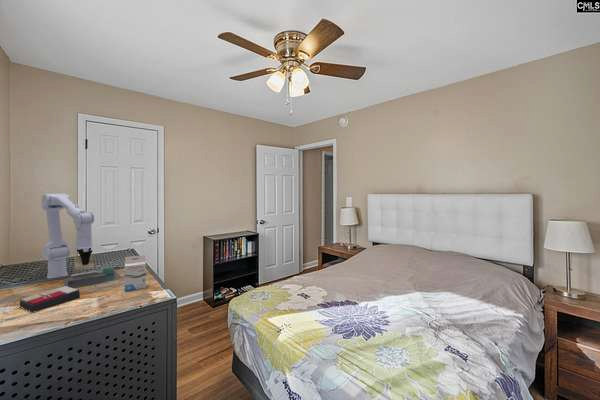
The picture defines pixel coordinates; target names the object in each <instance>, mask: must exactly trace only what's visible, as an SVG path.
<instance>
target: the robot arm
mask: <svg viewBox="0 0 600 400" xmlns="http://www.w3.org/2000/svg"><path fill="white" fill-rule="evenodd" d="M41 207H42V210H43V211H45V212H46V221H47V230H48V238H49V241H48V242H47V243H46V244H45V245H43V247H42V257H43V259H44V260H45V261H47V274H46V279H53V278H60V277H65V276H68V274H69V273H68V270H67V259H68V257H69V256H70V254H71V248H70V246H69V243H68V242H67V241H65V240H63V235H62V227H61V218H60V211H61V210H63V209H65V210H66V213H67V214H68V215H69V216H70V217H71V218H72V219H73V223H74V227H75V229H76V245H75V246H73V249H76V252H77V254H78V255H79V256H80V257H81V261H82V264H83V265H88V263H89V259H90V255H92V254H93V249H92V247H93V241H92V238H93V237H92V234H93V233H92V224H93V223H94V221H95V216H94V214H93V212H92V211H91V212H89V211H85V210H84V209H83V208H82V207H81V206H80V205H79V204H74V202H72V201H71V196H70V195H69V194H68V193H44V194H43V195H42V197H41Z"/></svg>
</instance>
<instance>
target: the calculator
mask: <svg viewBox="0 0 600 400" xmlns="http://www.w3.org/2000/svg"><path fill="white" fill-rule="evenodd" d="M80 296H81V294H80V289H77V288H70V287H67V286H61V287H58V288H55V289H50V290H47V291H46V290H45V291H43V292H40V293H39V294H33V295H29V296H26V297H24V298H21V299H20V300H19V307H20V308H21V307H23V308H25V309H24V310H26V309H27V310H26V311H28V310H30V311H29V312H31V311H32V312H31V313H35V312H34V311H36V312H39V311H42V310H45V309H49V308H51V307H55V306H57V305H60V304H63V303H66V302H71V301H75V300H78V299H81V297H80ZM23 308H22V309H23Z"/></svg>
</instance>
